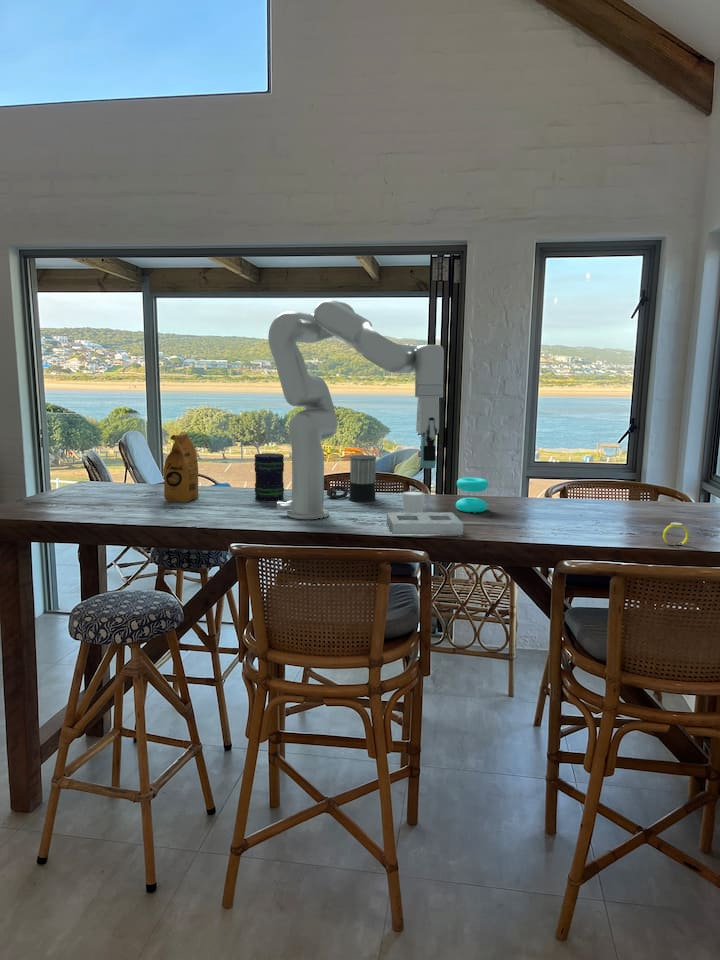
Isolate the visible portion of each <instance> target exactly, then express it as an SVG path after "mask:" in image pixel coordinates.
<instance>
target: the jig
mask: <svg viewBox="0 0 720 960" xmlns="http://www.w3.org/2000/svg"><path fill="white" fill-rule="evenodd" d="M387 525H388V526H387ZM386 526H387V528H388V527H389V528H388V530H389V529H390V531H391V532H392V534H460V535H463V536H464V522H463V521H462V520H461V519H459V517H457V515H455V513H454V512H451V511H450V512H447V511H445V512H431V511H429V512H428V511H427V512H424V511H423V512H404V511H403V512H396V511H395V512H393V511H392V512H386ZM390 531H389V532H390Z"/></svg>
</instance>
